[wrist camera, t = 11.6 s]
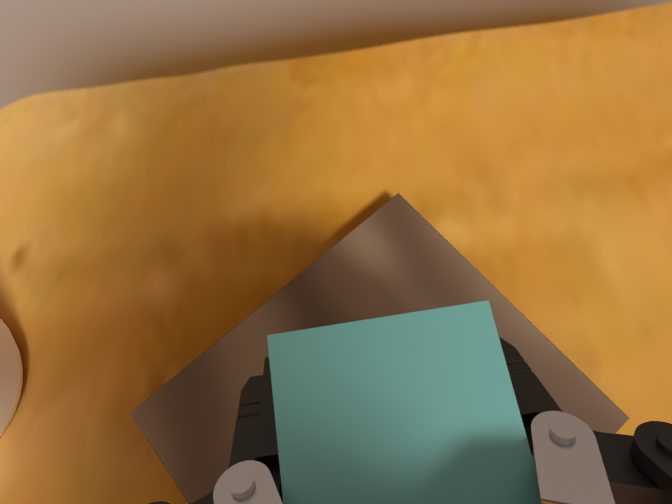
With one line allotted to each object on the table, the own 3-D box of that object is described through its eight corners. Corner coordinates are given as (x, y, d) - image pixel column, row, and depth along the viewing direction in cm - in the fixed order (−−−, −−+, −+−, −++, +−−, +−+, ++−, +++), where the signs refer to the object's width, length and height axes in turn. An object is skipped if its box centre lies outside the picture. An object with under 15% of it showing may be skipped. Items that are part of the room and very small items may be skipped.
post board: (395, 203, 22) (415, 119, 15) (612, 416, 19) (763, 429, 12) (143, 411, 19) (30, 421, 12) (341, 715, 16) (335, 964, 9)
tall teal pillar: (427, 341, 17) (488, 300, 10) (458, 481, 16) (562, 563, 8) (302, 361, 17) (266, 335, 10) (320, 504, 15) (293, 609, 8)
